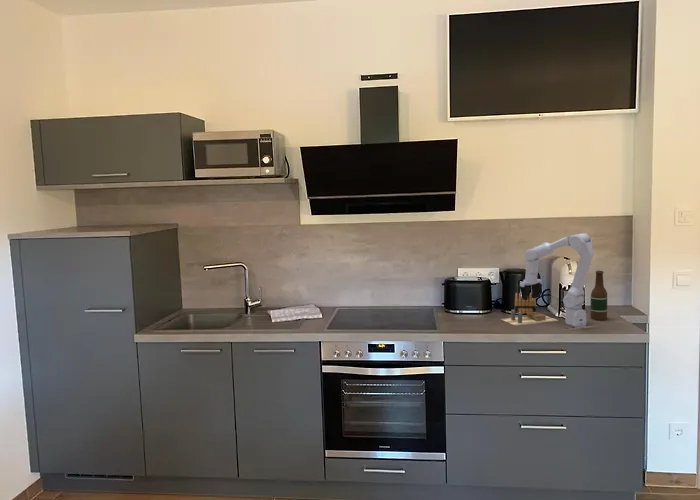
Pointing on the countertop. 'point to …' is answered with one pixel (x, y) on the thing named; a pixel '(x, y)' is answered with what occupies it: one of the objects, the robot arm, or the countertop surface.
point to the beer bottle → (599, 299)
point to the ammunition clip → (525, 304)
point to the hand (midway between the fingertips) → (529, 298)
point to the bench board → (527, 320)
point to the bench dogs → (518, 316)
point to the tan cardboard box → (536, 316)
